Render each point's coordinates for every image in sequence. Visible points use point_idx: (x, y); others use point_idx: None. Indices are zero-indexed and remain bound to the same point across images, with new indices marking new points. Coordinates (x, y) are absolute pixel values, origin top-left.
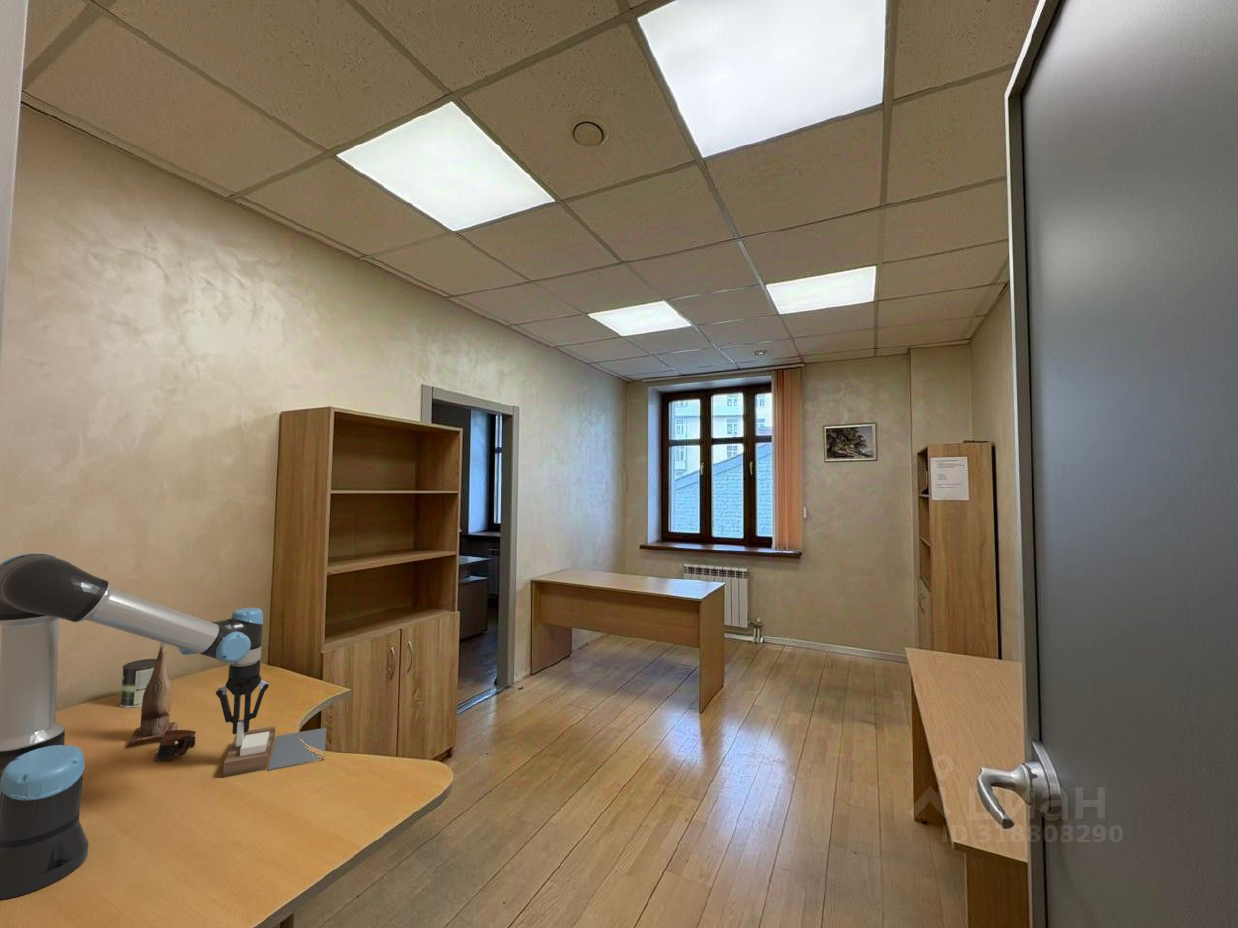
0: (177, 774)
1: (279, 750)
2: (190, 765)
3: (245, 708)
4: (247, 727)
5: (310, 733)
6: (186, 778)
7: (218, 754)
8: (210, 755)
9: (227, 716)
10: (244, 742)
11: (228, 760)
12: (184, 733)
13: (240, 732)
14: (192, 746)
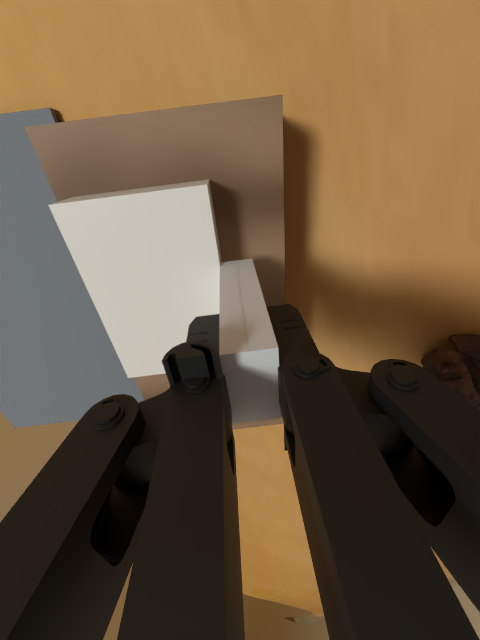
0: (446, 225)
1: None
2: (402, 287)
3: (203, 567)
4: (193, 336)
5: (50, 402)
6: (418, 169)
7: (321, 341)
8: (344, 340)
9: (448, 421)
10: (212, 281)
11: (261, 130)
12: None
13: (238, 301)
14: None
